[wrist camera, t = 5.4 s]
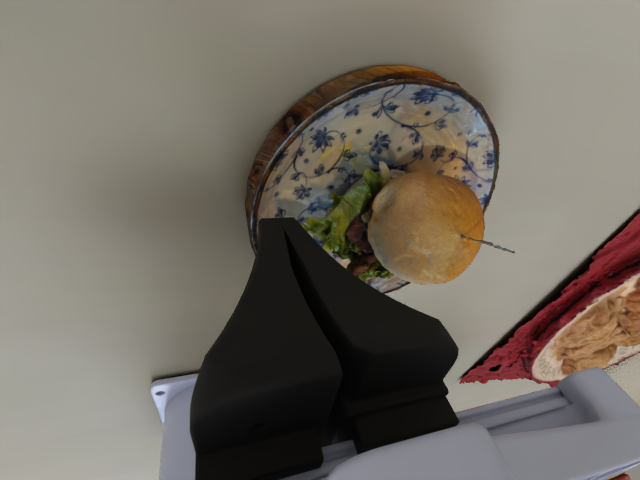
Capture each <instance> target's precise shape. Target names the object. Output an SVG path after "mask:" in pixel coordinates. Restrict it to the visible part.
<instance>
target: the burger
mask: <svg viewBox="0 0 640 480" xmlns="http://www.w3.org/2000/svg"><path fill="white" fill-rule="evenodd" d="M499 154H500V153H499V140H498V135H497V134H496V131H495V128H494V126H493V124H492V123H491V121H490V118H489V116H488V115H487V113H486V111H485V109H484V107H483V106H482V105H481V103H479V102H478V101H477V100H476V99H475V98H473V97H472V96H471V95H469V94H468V93H467V92H466V91H465V90H464V89H462V88H461V87H460V85H459V84H457V83H455V82H450V81H447V80H446V79H444V78H442V77H440V76H439V75H437V74H435V73H433V72H430V71H426V70H422V69H418V68H415V67H410V66H377V67H373V68H369V69H365V70H360V71H356V72H352V73H348V74H346V75H344V76H342V77H340V78H338V79H336V80H334V81H331V82H329V83H327V84H325V85H323V86H321V87H319V88H318V89H316V90H315V91H314V92H312V93H311V94H310V95H308V96H307V97H305V98H304V99H303V100H301V101H300V102H299V103H297V104H296V105H295V106H293V107H292V108H291V109H290V110H289V112H288V113H287V114H286V115H285V116H284V117H283V118H282V119H281V120H280V121H279V123H278V124H277V125H276V126H275V127H274V128H273V129H272V130H271V132H270V134H269V136H268V137H267V139H266V140H265V142H264V144H263V145H262V147H261V149H260V150H259V152H258V154H257V155H256V158H255V161H254V164H253V167H252V169H251V172H250V175H249V178H248V186H247V195H246V200H245V209H246V217H247V223H248V230H249V237H250V243H251V246H252V248H253V251H254V253H255V256H256V254H257V249H258V221H259V220H260V219H261V218H283V217H294V218H295V219H296V220H297V221H298V222H299V223H300V224H301V225H302V227H303V228H304V229H305V230H306V231H307V232H308V233H309V234H310V235H311V236H312V238H313V239H314V240H315V241H316V242H317V243H318V244H319V245H320V246H321V247H322V248H323V249H324V250H325V251H326V252H327V253H328V254H330V255H331V256H332V257H333V258H334V259H335V260H336V261H337V262H339V263H340V264H341V265H342V266H343V267H345V268H346V269H347V270H349V271H350V272H351V273H353V274H354V275H355V276H357V277H358V278H359V279H361V280H362V281H364V282H365V283H367V284H368V285H370V286H372V287H373V288H375V289H377V290H378V291H380V292H381V293H383V294H385V293H388V292H392V291H395V290H399V289H400V288H401V287H403V286H405V285H407V284H409V283H415V284H420V285H426V284H438V283H445V282H447V281H450V280H452V279H454V278H456V277H457V276H459V275H460V274H461V273H462V272H463V271H464V270H465V269H466V268H467V267H468V266H469V265H470V264H471V262H472V261H473V259H474V258H475V256H476V254H477V253H478V251H479V249H480V246H481V243H483V244H487V245H490V246H493V247H495V248H499V249H502V250H505V251H509V252H512V253H514V252H515V251H510V250H508V249H506V248H502V247H500V246H498V245H497V246H495V245H493V244H492V243H491V242H486V241H483V240H482V239H483V235H484V229H485V227H484V212H485V211H486V209H487V207H488V205H489V202H490V199H491V196H492V193H493V190H494V189H495V181H496V178H497V173H498V169H499Z"/></svg>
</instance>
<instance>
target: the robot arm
mask: <svg viewBox="0 0 640 480" xmlns="http://www.w3.org/2000/svg"><path fill="white" fill-rule="evenodd" d="M457 356H458V347H457V345H456V344H455V342H454V341H453V339H452V338H451V336H450V335H449V333H448V332H447V330H446V329H445V327H444V326H443V325H442V323H441V322H440V321H439V320H438V319H436V318H434V317H431V316H429V315H427V314H424V313H422V312H419V311H417V310H415V309H412V308H410V307H408V306H406V305H404V304H402V303H400V302H398V301H396V300H394V299H392V298H390V297H389V296H387V295H385V294H383V293H381V292H380V291H378V290H377V289H375V288H373V287H372V286H370V285H368V284H367V283H365V282H364V281H362V280H361V279H359V278H358V277H357V276H355V275H354V274H353V273H351V272H350V271H349V270H347V269H346V268H345V267H343V266H342V265H341V264H340V263H339V262H337V261H336V260H335V259H334V258H333V257H332V256H331V255H330V254H328V253H327V252H326V251H325V250H324V249H323V248H322V247H321V246H320V245H319V244H318V243H317V242H316V241H315V240H314V239H313V238H312V236H311V235H310V234H309V233H308V232H307V231H306V230H305V229H304V228H303V227H302V225H301V224H300V223H299V222H298V221H297V220H296V219H295V218H294V217H283V218H261V219H260V220H259V221H258V249H257V254H256V258H255V261H254V265H253V268H252V271H251V274H250V277H249V280H248V282H247V285H246V287H245V289H244V292H243V294H242V296H241V298H240V300H239V302H238V304H237V306H236V308H235V310H234V312H233V314H232V315H231V317H230V319H229V321H228V322H227V324H226V326H225V327H224V329H223V331H222V332H221V334H220V335H219V337H218V338H217V340H216V341H215V343H214V344H213V345H212V347H211V348H210V350H209V351H208V353H207V354H206V355H205V358H204V361H203V363H202V366H201V369H200V371H199V373H196V374H191V375H185V376H179V377H173V378H167V379H161V380H156V381H154V382H152V383H151V387H150V391H151V394H152V397H153V399H154V402H155V405H156V407H157V410H158V413H159V415H160V418H161V421H162V423H163V426H164V428H163V439H162V450H161V460H160V471H159V480H606V479H608V478H611V477H613V476H616V475H618V474H620V473H622V472H624V471H626V470H628V469H630V468H632V467H634V466H636V465H638V464H640V407H639V406H638V405H637V404H636V403H635V402H634V401H633V400H632V399H631V398H630V397H629V396H628V394H627V393H626V392H625V391H624V390H623V389H622V388H621V387H620V386H619V385H618V384H617V383H616V382H615V381H614V380H613V379H612V378H611V377H610V376H609V375H608V374H607V373H606V372H605V371H604V370H603V369H602V368H601V367H593V368H589V369H585V370H581V371H577V372H574V373H572V374H570V375H568V376H566V377H565V378H564V379H563V380H561V381H560V382H559V383H558V385H557V386H556V387H552V388H548V389H544V390H540V391H536V392H533V393H529V394H525V395H521V396H517V397H513V398H510V399H506V400H502V401H498V402H494V403H490V404H486V405H483V406H479V407H475V408H471V409H467V410H463V411H460V412H456V413H455V412H454V411H453V409H452V407H451V405H450V403H449V402H448V400H447V398H446V395H447V394H448V389H447V387H446V385H445V384H444V382H443V379H444V377H445V376H446V374H447V373H448V372H449V370H450V369H451V367H452V366H453V364H454V363H455V361H456V359H457Z"/></svg>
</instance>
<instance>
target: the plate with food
mask: <svg viewBox="0 0 640 480" xmlns="http://www.w3.org/2000/svg"><path fill="white" fill-rule="evenodd" d="M592 259H594V260H595V261H594V262H593V263H592V264H590V266H589V269H588V270H587V271H585V273H584V274H582V275H579V276H578V279H575V280H573V281H572V282H571V283H570V284H569V285H568V286H567V287H565V288H564V290H562V291H561V293H563V295H562V296H561V297H559V298H558V299H557V300H556V301H553V302H551V303H549V304H548V305H547V306H546V307H545V308H544V309H543V310H541V311H540V312H539V313H537V315H536V316H535V317H534V318H533V319H532V320H531V321H529V322H527V323H526V324H525V325H522V326H521V327H520V328H518V329H517V330H516V332H515V333H514V336H513V337H511V338H509V342H508V344H507V345H506V344H505V345H504V346H502V347H501V348H499V347H497V348H496V349H495V350H494V351H493V354H492V355H490V356H489V357H488V359H487V360H485V361H484V365H478V366H477V368H475V369H473V370H470V371H469V372H468V374H467V375H466V376H464V377H463V378H462V380H461V381H460V384H461V383H464V381H465V382H466V383H470V382H473V383H474V382H475V381H479V382H481V383H487V382H488V380H495V379H498V380H501V381H502V379H511V380H512V379H518V378H522V379H523V378H527V379H530V380H534V381H535V382H537V383H539V384H541V383H548V384H549V385H550V387H556V386H557V385H558V383H559V382H560V381H561V380H563V379H564V378H565V377H566V376H568V375H570V374H572V373H574V372H577V371H581V370H585V369H589V368H593V367H601V368H602V369H606V368H608V367H609V366H612V365H618V364H619V363H620V362H622V361H625V360H626V359H628V358H629V357H632V356H634V355H636V354H638V353H640V213H639V214H638V215H637V216H636V217H635V218H634V219H633V220H632V221H631V222H630V223H629V224H628V225H627V227H625V229H624V230H622V231H621V233H619V234H618V235H617V236H616V237H615V238H614V239H613V240H612V241H609V242H607V244H606V245H605V246H604V248H603V249H600V250H599V251H598V253H597V255H594V256H593V257H592ZM499 364H501V366H500V367H499V368H498V369H497V371H495V372H492V371H489V369H490V368H491V367H495V366H497V365H499Z"/></svg>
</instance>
